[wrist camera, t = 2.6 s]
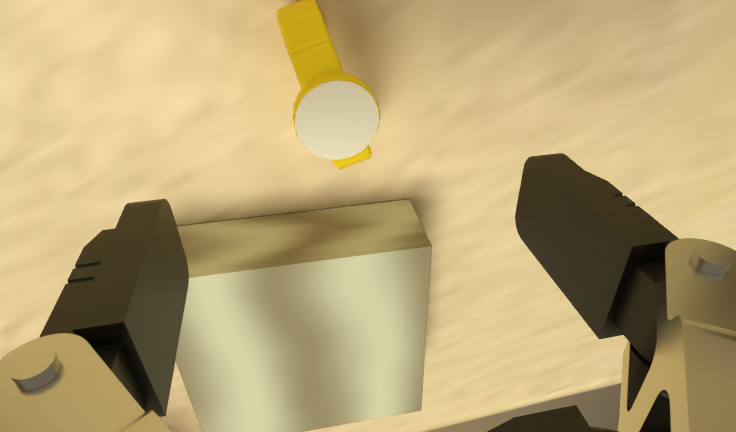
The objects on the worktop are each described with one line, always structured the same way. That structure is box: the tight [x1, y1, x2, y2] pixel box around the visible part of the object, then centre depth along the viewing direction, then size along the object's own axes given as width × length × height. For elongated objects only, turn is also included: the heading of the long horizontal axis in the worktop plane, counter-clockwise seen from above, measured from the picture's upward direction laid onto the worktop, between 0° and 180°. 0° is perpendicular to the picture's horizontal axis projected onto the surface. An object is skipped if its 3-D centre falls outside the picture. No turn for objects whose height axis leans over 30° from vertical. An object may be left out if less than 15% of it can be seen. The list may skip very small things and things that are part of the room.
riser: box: [175, 199, 432, 432], centre depth 25 cm, size 12×12×4 cm
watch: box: [277, 0, 380, 169], centre depth 18 cm, size 6×3×6 cm, turn 18°
